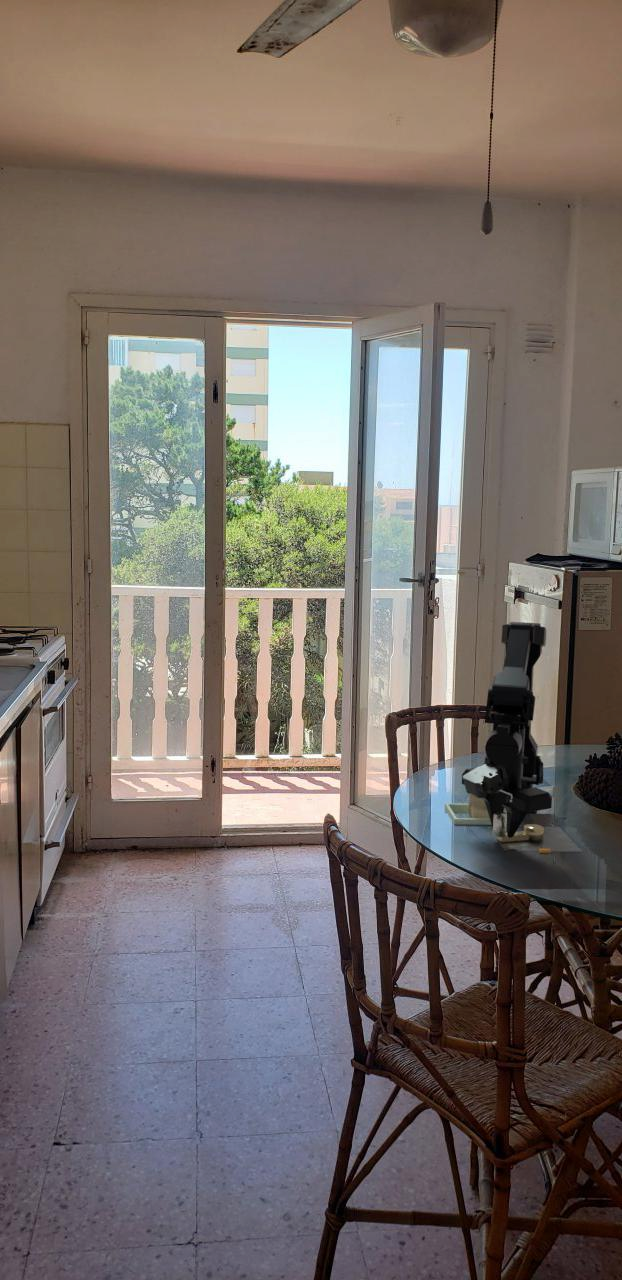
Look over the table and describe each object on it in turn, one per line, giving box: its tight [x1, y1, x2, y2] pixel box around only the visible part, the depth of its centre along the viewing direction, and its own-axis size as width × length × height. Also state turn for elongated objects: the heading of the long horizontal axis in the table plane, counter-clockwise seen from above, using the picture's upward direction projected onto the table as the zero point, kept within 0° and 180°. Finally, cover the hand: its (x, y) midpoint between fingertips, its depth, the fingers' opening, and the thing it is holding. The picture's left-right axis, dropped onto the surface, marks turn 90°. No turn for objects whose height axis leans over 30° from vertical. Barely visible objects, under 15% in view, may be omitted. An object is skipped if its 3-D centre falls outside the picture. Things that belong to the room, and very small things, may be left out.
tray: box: [444, 803, 507, 826], centre depth 196 cm, size 10×12×2 cm
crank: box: [492, 812, 545, 842], centre depth 182 cm, size 10×4×5 cm, turn 106°
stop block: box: [468, 793, 489, 818], centre depth 196 cm, size 4×4×6 cm
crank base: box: [487, 826, 583, 854], centre depth 183 cm, size 15×14×2 cm
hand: (502, 833), depth 180 cm, fingers open, 4 cm apart
